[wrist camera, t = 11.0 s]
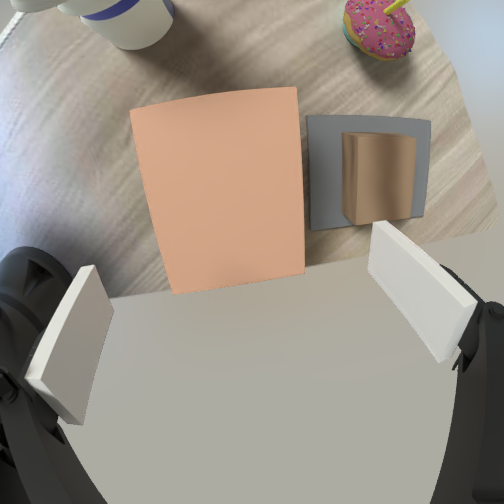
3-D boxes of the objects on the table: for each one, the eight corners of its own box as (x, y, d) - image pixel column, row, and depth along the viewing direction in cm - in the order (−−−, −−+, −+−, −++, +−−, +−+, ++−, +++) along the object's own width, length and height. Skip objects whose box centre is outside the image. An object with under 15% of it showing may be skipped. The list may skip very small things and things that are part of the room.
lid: (175, 279, 27) (173, 294, 25) (137, 109, 19) (129, 110, 17) (297, 259, 28) (304, 273, 26) (287, 88, 20) (296, 86, 18)
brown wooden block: (341, 212, 35) (355, 225, 31) (341, 132, 30) (357, 136, 26) (393, 206, 35) (409, 218, 32) (397, 132, 30) (416, 138, 27)
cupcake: (313, 23, 24) (366, -8, 13) (356, -10, 21) (414, -39, 11) (364, 76, 27) (431, 73, 17) (401, 41, 25) (468, 33, 14)
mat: (309, 229, 36) (311, 231, 35) (305, 115, 29) (307, 115, 28) (420, 214, 37) (423, 215, 37) (428, 120, 30) (430, 120, 30)
